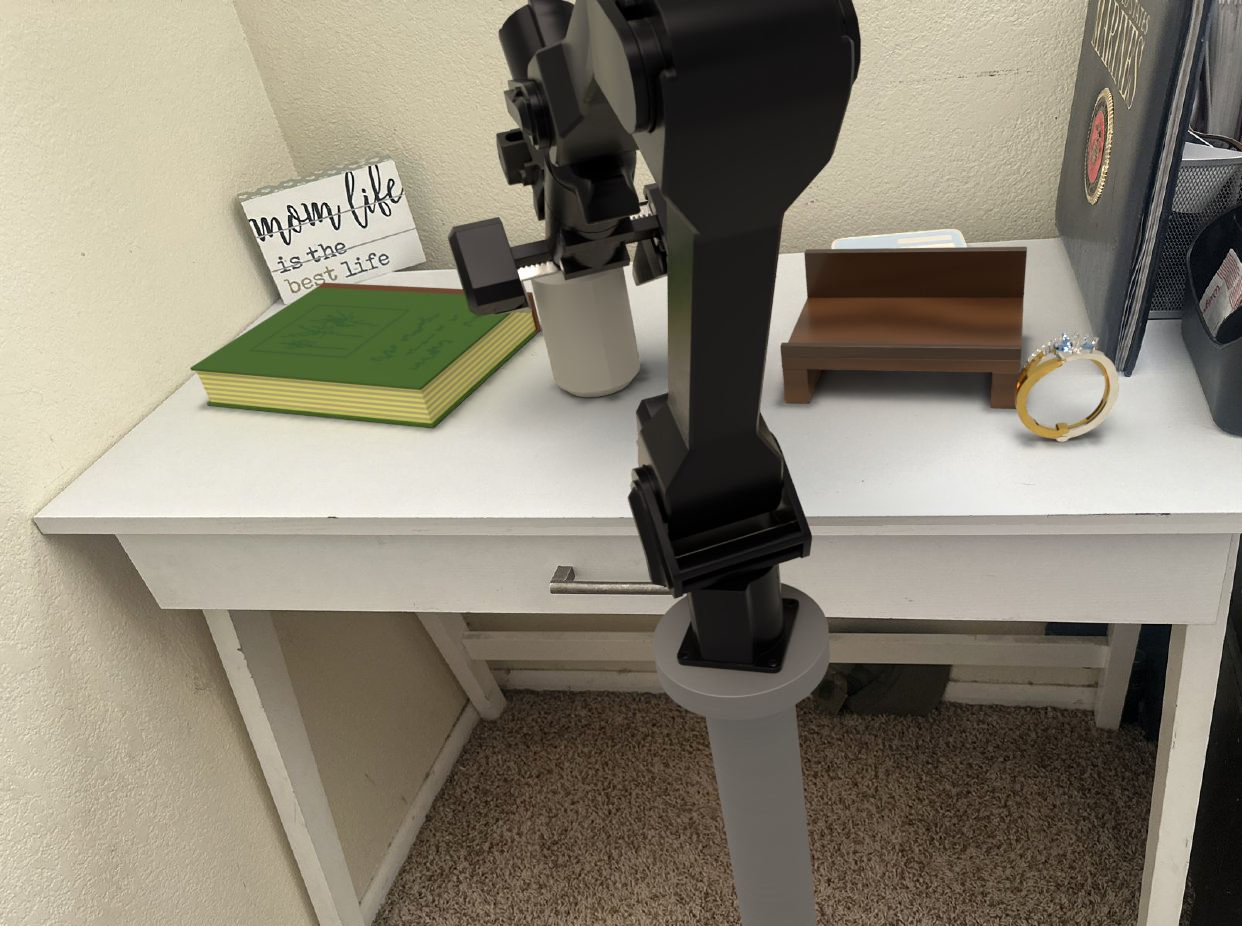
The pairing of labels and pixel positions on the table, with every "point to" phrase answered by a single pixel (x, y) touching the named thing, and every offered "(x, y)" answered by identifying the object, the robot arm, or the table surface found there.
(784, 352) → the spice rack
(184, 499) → the table surface
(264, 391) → the hardcover book
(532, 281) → the can
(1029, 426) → the ring
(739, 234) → the robot arm
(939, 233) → the calculator
